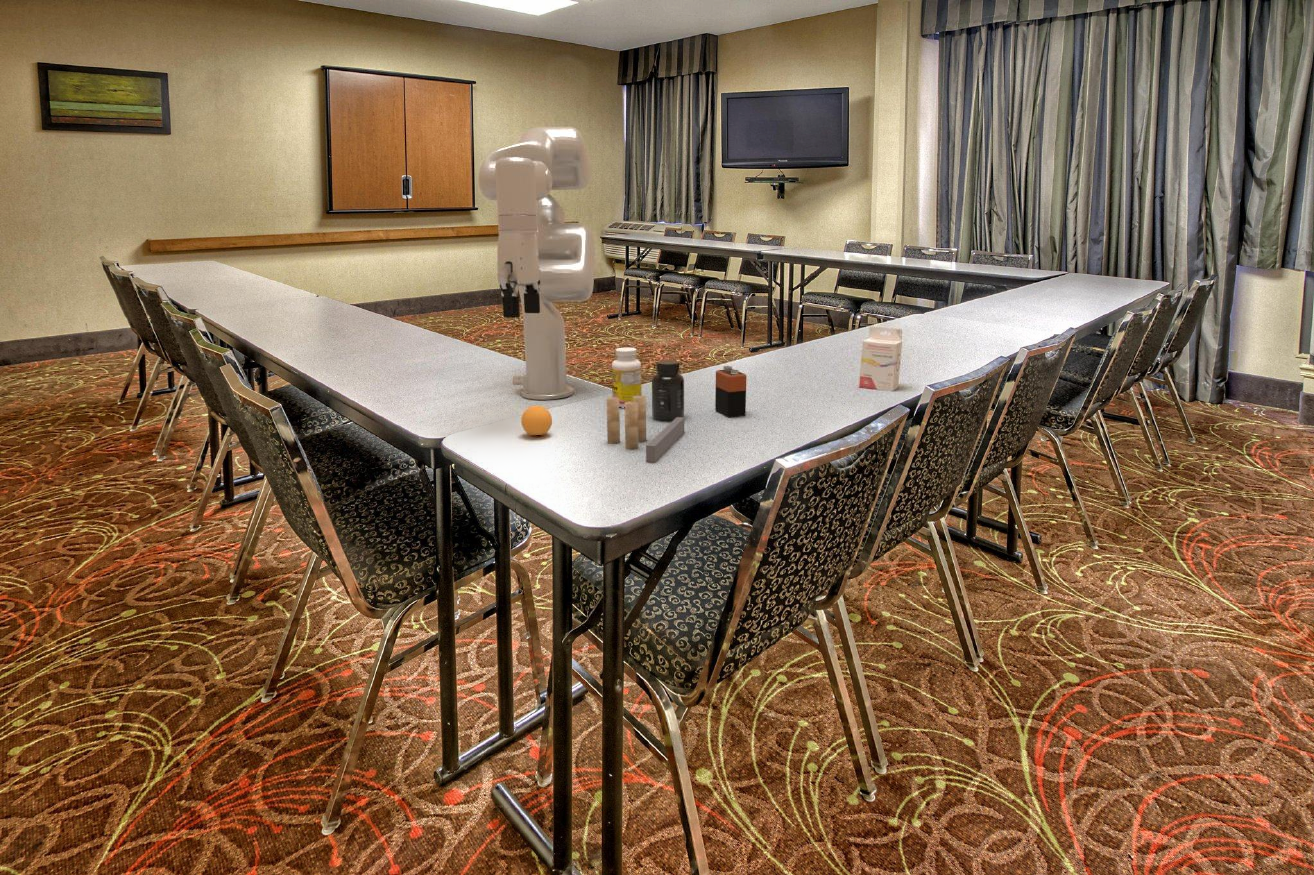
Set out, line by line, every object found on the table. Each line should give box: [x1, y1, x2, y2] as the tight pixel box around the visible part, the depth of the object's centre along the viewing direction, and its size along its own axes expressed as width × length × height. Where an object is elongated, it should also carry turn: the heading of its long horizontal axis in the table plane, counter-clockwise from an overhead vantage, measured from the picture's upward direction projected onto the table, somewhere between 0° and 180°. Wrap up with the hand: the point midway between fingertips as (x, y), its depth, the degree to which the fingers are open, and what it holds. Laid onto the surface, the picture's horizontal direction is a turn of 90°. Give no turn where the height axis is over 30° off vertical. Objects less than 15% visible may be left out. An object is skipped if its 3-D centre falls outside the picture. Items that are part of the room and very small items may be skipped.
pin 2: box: [633, 395, 647, 443], centre depth 150 cm, size 2×2×8 cm
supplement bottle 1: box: [611, 347, 643, 407], centre depth 176 cm, size 7×7×13 cm
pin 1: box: [624, 402, 639, 450], centre depth 145 cm, size 2×2×8 cm
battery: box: [714, 365, 747, 418], centre depth 168 cm, size 4×7×10 cm, turn 21°
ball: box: [520, 405, 553, 436], centre depth 153 cm, size 6×6×6 cm
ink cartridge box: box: [858, 325, 903, 392], centre depth 190 cm, size 9×5×15 cm, turn 58°
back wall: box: [645, 417, 685, 463], centre depth 146 cm, size 2×20×3 cm, turn 163°
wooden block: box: [605, 396, 621, 445], centre depth 149 cm, size 2×2×8 cm
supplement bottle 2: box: [651, 359, 685, 422], centre depth 165 cm, size 7×7×12 cm
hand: (522, 315), depth 155 cm, fingers open, 9 cm apart
